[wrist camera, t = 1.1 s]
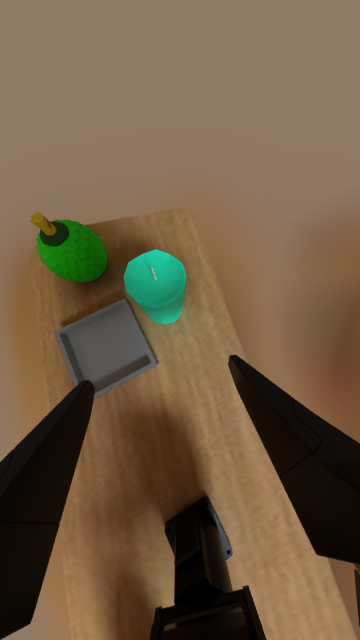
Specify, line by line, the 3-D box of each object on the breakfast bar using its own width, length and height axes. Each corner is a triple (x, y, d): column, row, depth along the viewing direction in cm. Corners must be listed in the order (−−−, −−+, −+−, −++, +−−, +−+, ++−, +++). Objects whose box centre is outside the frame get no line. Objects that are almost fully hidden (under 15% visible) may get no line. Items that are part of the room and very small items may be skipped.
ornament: (121, 282, 24) (83, 238, 15) (74, 297, 24) (2, 262, 14) (109, 242, 26) (67, 178, 16) (64, 255, 25) (-8, 198, 15)
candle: (189, 313, 24) (201, 281, 12) (157, 331, 23) (136, 316, 11) (171, 284, 25) (166, 226, 13) (140, 300, 24) (104, 256, 12)
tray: (158, 363, 22) (157, 364, 20) (90, 400, 21) (81, 405, 19) (129, 301, 24) (124, 297, 22) (64, 333, 23) (53, 331, 21)
